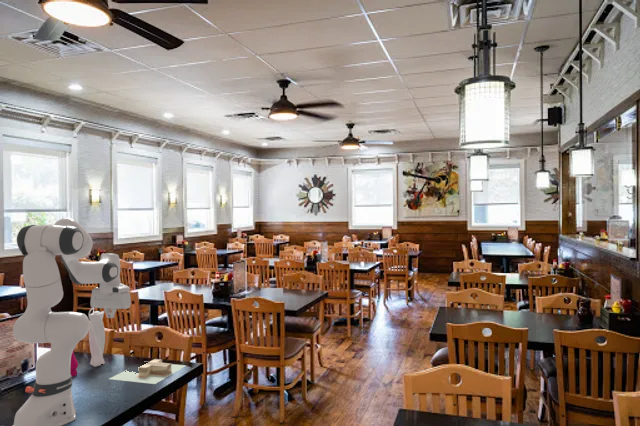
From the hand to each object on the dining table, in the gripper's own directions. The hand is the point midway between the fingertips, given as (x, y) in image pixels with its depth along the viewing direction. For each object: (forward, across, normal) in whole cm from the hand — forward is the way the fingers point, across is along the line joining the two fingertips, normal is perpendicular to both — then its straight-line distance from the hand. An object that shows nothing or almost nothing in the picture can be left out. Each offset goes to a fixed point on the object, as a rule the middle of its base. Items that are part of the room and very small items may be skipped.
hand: (110, 317), depth 208 cm
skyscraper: (+27, -19, +12) cm, 35 cm away
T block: (+27, +19, +9) cm, 34 cm away
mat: (+27, +14, +9) cm, 32 cm away
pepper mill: (+27, -20, -4) cm, 34 cm away
